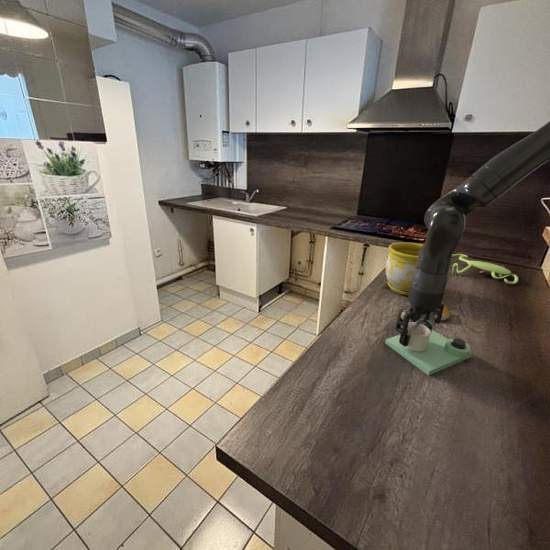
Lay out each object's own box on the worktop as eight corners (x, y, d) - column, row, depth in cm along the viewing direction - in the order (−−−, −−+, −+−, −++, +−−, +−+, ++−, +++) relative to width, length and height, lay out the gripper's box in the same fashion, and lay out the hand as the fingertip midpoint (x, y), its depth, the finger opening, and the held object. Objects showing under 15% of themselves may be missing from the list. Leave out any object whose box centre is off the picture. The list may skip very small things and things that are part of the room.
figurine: (445, 261, 144) (448, 250, 142) (512, 272, 131) (516, 260, 129) (443, 273, 129) (446, 261, 127) (518, 287, 117) (523, 274, 115)
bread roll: (445, 309, 99) (448, 299, 97) (450, 323, 91) (453, 312, 90) (419, 305, 102) (421, 295, 100) (421, 318, 94) (424, 307, 92)
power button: (456, 342, 78) (457, 337, 77) (466, 347, 75) (468, 343, 75) (449, 344, 77) (450, 339, 76) (459, 350, 74) (461, 345, 74)
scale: (425, 329, 88) (427, 321, 87) (472, 357, 76) (476, 348, 75) (385, 343, 81) (386, 334, 80) (429, 376, 69) (432, 366, 68)
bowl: (412, 335, 82) (415, 320, 80) (432, 348, 77) (436, 332, 75) (395, 341, 80) (398, 325, 78) (414, 354, 74) (418, 338, 72)
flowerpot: (377, 278, 123) (383, 241, 116) (421, 280, 121) (430, 243, 115) (388, 298, 106) (396, 255, 100) (439, 301, 105) (451, 258, 98)
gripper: (420, 298, 66) (406, 356, 72) (461, 286, 71) (445, 341, 78) (394, 285, 72) (384, 340, 78) (434, 275, 78) (421, 327, 84)
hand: (414, 340), depth 78 cm, fingers open, 8 cm apart
